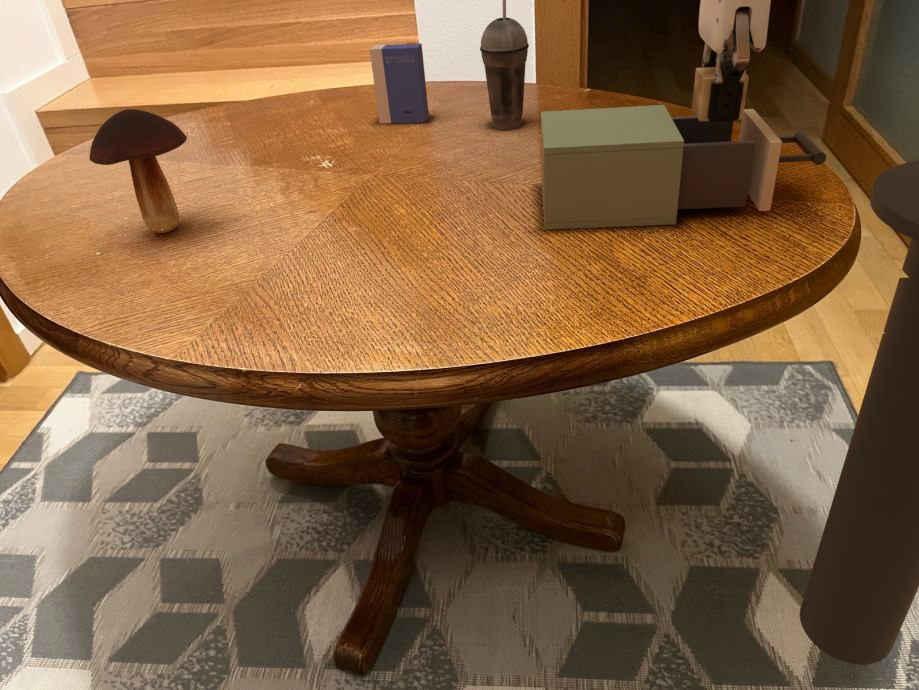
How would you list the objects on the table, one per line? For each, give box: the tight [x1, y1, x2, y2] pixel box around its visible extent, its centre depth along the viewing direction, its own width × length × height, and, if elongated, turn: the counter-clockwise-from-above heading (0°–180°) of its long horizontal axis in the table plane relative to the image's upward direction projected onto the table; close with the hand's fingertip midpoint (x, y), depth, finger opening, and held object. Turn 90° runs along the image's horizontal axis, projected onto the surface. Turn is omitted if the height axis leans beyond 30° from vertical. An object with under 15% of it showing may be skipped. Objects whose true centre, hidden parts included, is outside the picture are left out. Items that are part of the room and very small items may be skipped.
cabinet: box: [540, 104, 684, 231], centre depth 85 cm, size 15×13×10 cm
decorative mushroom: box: [88, 108, 188, 234], centre depth 87 cm, size 11×11×15 cm
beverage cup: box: [479, 0, 530, 130], centre depth 109 cm, size 7×7×20 cm
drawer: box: [671, 108, 827, 212], centre depth 83 cm, size 19×11×8 cm, turn 86°
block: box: [691, 66, 749, 122], centre depth 79 cm, size 4×4×4 cm
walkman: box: [369, 41, 430, 124], centre depth 117 cm, size 8×3×12 cm, turn 79°
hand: (717, 111), depth 80 cm, fingers closed on block, 4 cm apart
